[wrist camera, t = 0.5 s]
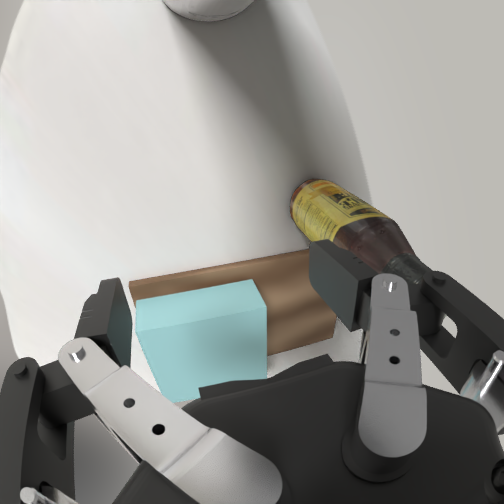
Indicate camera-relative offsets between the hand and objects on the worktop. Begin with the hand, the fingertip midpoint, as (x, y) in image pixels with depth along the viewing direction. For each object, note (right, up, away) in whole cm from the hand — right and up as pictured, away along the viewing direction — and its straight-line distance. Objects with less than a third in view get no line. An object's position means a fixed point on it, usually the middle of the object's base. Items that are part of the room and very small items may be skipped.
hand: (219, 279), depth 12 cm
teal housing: (-5, -9, +23) cm, 25 cm away
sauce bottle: (+8, +7, +21) cm, 23 cm away
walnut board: (+1, -7, +26) cm, 27 cm away
